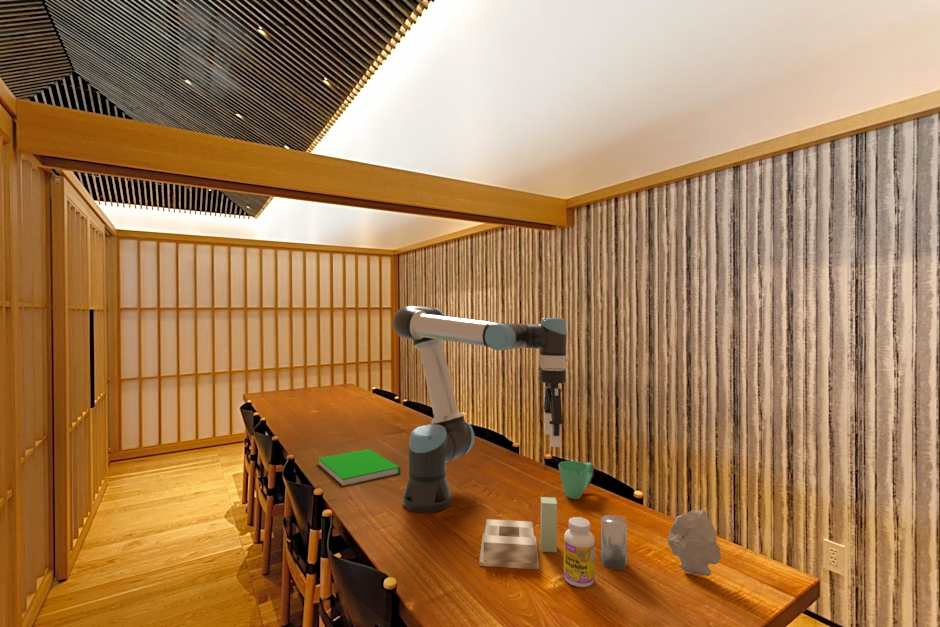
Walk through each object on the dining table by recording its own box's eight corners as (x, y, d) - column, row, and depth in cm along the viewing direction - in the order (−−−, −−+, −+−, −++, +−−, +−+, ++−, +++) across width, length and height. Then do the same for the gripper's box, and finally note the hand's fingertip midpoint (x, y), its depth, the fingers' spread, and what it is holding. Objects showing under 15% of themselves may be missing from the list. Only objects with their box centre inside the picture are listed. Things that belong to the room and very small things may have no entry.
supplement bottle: (559, 582, 94) (559, 523, 94) (569, 567, 99) (569, 512, 100) (589, 592, 90) (589, 531, 90) (597, 577, 96) (598, 519, 96)
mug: (575, 504, 134) (575, 472, 134) (552, 494, 142) (552, 464, 142) (603, 494, 143) (604, 464, 143) (580, 485, 151) (580, 456, 151)
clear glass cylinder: (603, 568, 99) (604, 525, 99) (598, 555, 105) (598, 514, 105) (629, 570, 98) (629, 526, 99) (622, 556, 104) (623, 515, 104)
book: (342, 487, 147) (342, 478, 147) (317, 465, 170) (317, 458, 170) (400, 474, 161) (400, 466, 161) (370, 455, 183) (370, 448, 183)
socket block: (479, 565, 100) (479, 544, 100) (482, 536, 114) (483, 517, 114) (539, 569, 98) (539, 547, 98) (535, 539, 112) (535, 520, 112)
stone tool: (665, 569, 99) (665, 504, 99) (669, 562, 102) (669, 499, 102) (719, 588, 92) (719, 518, 92) (722, 580, 95) (721, 512, 95)
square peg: (541, 551, 106) (541, 503, 107) (540, 543, 110) (540, 496, 110) (556, 552, 106) (557, 503, 106) (555, 544, 110) (555, 497, 110)
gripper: (574, 374, 115) (572, 453, 114) (558, 365, 140) (557, 429, 139) (546, 373, 115) (544, 452, 115) (535, 364, 140) (534, 429, 140)
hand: (552, 440), depth 127 cm, fingers open, 13 cm apart
